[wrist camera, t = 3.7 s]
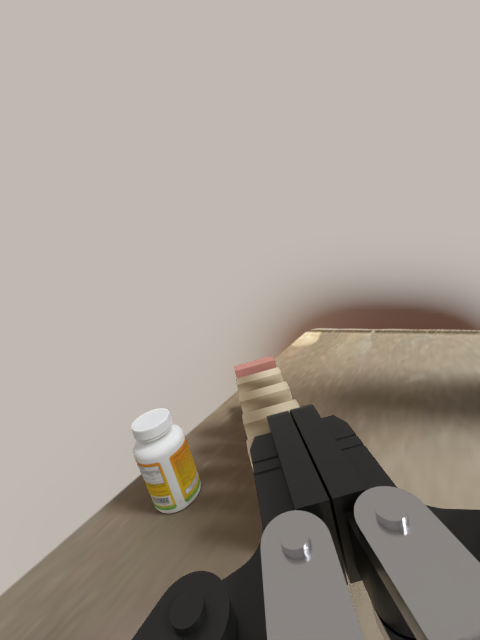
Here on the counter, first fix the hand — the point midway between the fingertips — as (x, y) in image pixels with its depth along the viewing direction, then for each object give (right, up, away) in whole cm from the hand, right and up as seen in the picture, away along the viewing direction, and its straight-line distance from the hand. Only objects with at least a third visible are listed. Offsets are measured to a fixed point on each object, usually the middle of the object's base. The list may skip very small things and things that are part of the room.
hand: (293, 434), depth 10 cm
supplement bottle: (-8, -16, +24) cm, 30 cm away
